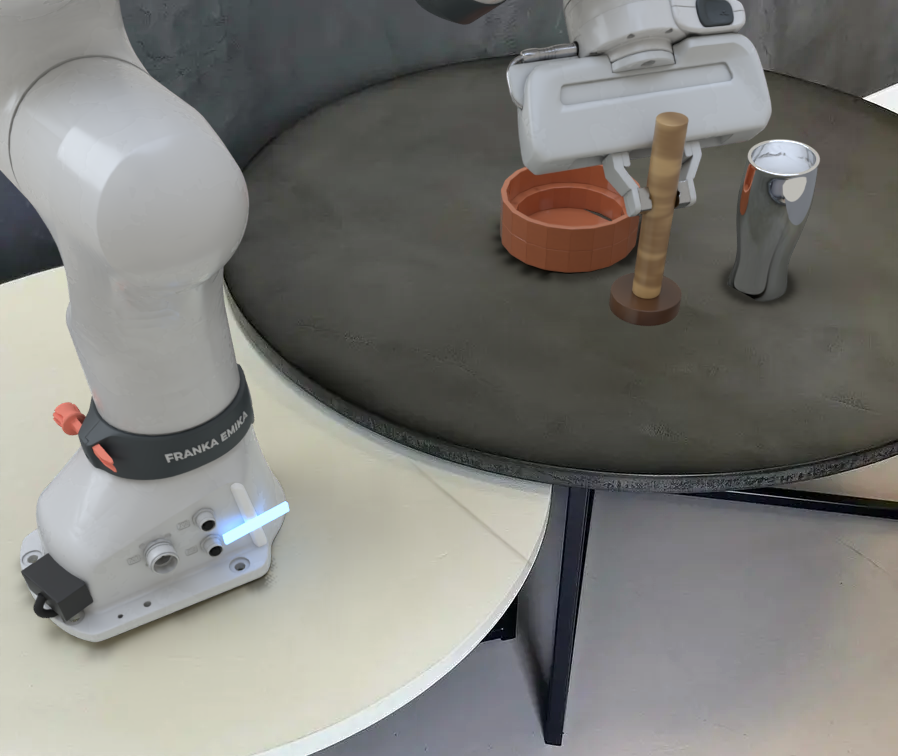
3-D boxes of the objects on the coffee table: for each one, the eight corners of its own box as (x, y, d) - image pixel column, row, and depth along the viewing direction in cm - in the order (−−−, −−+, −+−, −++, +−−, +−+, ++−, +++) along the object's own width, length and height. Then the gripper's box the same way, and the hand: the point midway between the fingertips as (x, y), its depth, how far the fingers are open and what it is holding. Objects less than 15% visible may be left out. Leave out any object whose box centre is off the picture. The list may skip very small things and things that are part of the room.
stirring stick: (646, 335, 82) (676, 144, 70) (594, 303, 85) (614, 117, 73) (693, 307, 85) (730, 120, 73) (641, 278, 88) (668, 94, 76)
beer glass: (791, 311, 101) (824, 178, 90) (721, 306, 102) (745, 174, 91) (789, 271, 105) (820, 139, 94) (722, 267, 106) (745, 136, 95)
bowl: (566, 295, 104) (570, 245, 99) (472, 238, 112) (472, 189, 108) (664, 244, 110) (672, 194, 106) (568, 193, 118) (572, 145, 114)
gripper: (511, 33, 72) (551, 219, 73) (762, 0, 76) (797, 177, 77) (491, 71, 78) (527, 242, 79) (724, 38, 82) (757, 202, 83)
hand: (662, 210), depth 78 cm, fingers closed on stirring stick, 2 cm apart
